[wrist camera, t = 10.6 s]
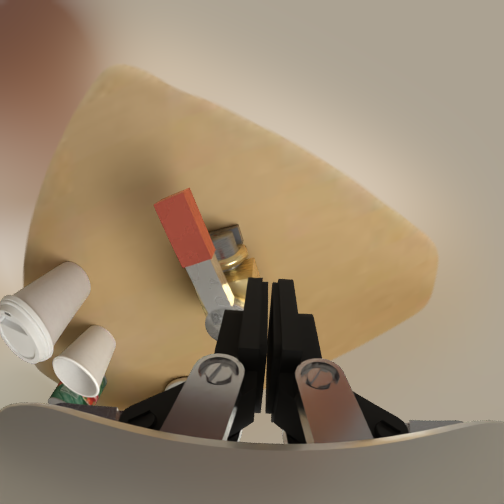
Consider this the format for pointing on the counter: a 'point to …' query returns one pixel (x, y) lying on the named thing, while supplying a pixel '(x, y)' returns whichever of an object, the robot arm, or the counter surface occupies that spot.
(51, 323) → the coffee cup
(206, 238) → the lever
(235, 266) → the valve body
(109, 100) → the counter surface
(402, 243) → the counter surface
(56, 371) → the dixie cup
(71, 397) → the canned tomato
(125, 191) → the counter surface
